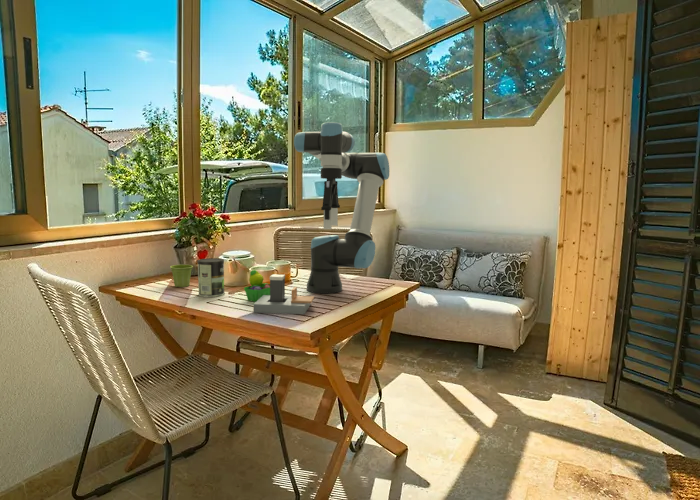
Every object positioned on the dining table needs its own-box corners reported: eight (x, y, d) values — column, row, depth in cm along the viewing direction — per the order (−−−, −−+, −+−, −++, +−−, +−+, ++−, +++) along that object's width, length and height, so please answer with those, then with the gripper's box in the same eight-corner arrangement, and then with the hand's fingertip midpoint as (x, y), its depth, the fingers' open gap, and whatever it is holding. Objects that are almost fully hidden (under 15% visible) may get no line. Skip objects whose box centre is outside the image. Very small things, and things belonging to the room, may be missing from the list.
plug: (272, 306, 183) (272, 274, 182) (285, 306, 183) (285, 274, 181) (269, 309, 179) (269, 276, 177) (282, 310, 178) (282, 277, 177)
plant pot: (189, 282, 222) (188, 263, 221) (196, 286, 215) (196, 266, 214) (167, 285, 217) (167, 265, 216) (175, 289, 209) (174, 268, 208)
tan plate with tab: (294, 297, 184) (294, 286, 183) (314, 298, 183) (314, 286, 182) (290, 302, 176) (290, 290, 176) (311, 303, 176) (311, 291, 175)
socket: (263, 302, 188) (263, 295, 188) (310, 304, 187) (310, 296, 187) (253, 312, 174) (253, 304, 174) (304, 314, 173) (304, 305, 173)
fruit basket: (257, 303, 187) (256, 274, 186) (240, 300, 192) (240, 271, 191) (278, 298, 196) (277, 269, 195) (261, 294, 202) (261, 267, 200)
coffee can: (225, 291, 207) (224, 257, 205) (224, 296, 197) (223, 261, 195) (199, 292, 205) (198, 258, 203) (197, 297, 195) (196, 262, 193)
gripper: (327, 168, 189) (326, 223, 192) (313, 166, 164) (313, 230, 167) (346, 168, 188) (345, 224, 191) (336, 166, 164) (335, 230, 166)
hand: (330, 227), depth 179 cm, fingers open, 13 cm apart
